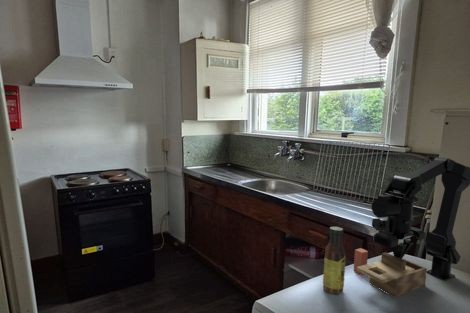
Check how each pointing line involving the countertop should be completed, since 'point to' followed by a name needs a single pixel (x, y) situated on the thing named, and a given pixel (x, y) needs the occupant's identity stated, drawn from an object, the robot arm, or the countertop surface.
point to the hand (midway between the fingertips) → (397, 261)
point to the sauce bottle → (334, 262)
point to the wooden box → (403, 281)
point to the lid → (386, 268)
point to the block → (360, 258)
